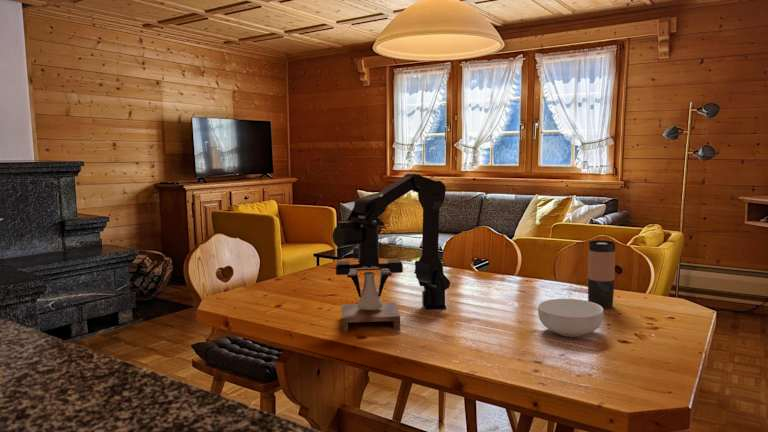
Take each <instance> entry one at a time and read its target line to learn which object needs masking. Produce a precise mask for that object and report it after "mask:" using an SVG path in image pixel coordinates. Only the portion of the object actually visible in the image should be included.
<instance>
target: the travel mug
mask: <svg viewBox="0 0 768 432" xmlns="http://www.w3.org/2000/svg"><path fill="white" fill-rule="evenodd" d="M587 263H588V264H587V265H588V268H587V270H588V271H587V291H588V292H587V301H589V302H593V303H596V304H598V305H600V306H601V307H602V308H603V310H608V309H609V310H610V309H612V308H613V306H614V293H615V292H614V291H615V273H616V272H615V269H616V265H615V263H616V242H614V241H611V240H599V239H598V240H597V239H595V240H590V241H589V242H588V261H587Z"/></svg>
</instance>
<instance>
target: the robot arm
mask: <svg viewBox="0 0 768 432" xmlns="http://www.w3.org/2000/svg"><path fill="white" fill-rule="evenodd" d="M446 190H447V189H446V185H445V184H444V183H443V181H441V180H435V179H431V178H428V177H425V176H423V175H421V174H419V173H409V172H408V173H406V174H404V175H403V176H402V177H401V178H399V179H398V180H396V181H395V182H393V183H391V184H389V185H388V186H387V187H385V188H383V189H382V190H380V191H378V192H376V193H373V194H372V193H371V194H367V195H364V196H361V197H359V198H357V199H356V200H355V201H354V205H353V208H352V210H351V211H350V213H349V215H348V217H347V219H346V221H337V222H336V226H335V227H334V229H333V231H332V240H333V244H334V245H335V246H336V247H337V248H344V247H349V246H355V245H358V246H357V247H353V248H352V252H353V253H352V255H353V260H358V261H357V262H358V263H353V264H352V263H350V260H345V261H344V260H342V261H340V260H339V261H336V263H335V275H336V276H343V275H344V276H347V278H351V281H352V282H353V284H354V286H355V289H356V292H357V294H358V297H359V298H360V297H361V294H362V290H361V286H360V280H359V274H358V273H359V271H379V281H378V282H379V284H378V294H379V297H380V298H381V295H382V293H383V290H384V287H385V284H386V282H387V280H388V278H389V277H391V276H392V275H393V274H398V273H400V274H402V273H403V272H404V265H403V262H402V261H401V259H398V258H397V259H387V262H380V253H379V252H380V251H379V250H380V246H379V245H380V244H379V227H380V226H381V227H382V226H383V227H384V226H385V222H384V221H382V220H381V218H380V217H381V216H382V215H383V214H384V213H386V211H387V207H388V206H389V205H391V204H392V203H394V202H396V201H397V200H398V199H400V198H402V197H403V196H405V195H406V194H408V193H409V192H411V191H412V192H413V191H414V193H417V199H418V202H419V204H420V205H421V208H422V244H421V245H422V246H421V251H422V252H421V256H420V257H419V259H418V260H415V261H414V262H415V263H414V274H415V277H416V279H417V280H418V284H419V286H420V287H423V290H422V291H421V300H422V301H421V303H422V306H423V307H424V308H425V309H426V310H441V309H447V305H446V290H447V289H448V290H449V289H450V286H451V281H450V280H449V279H448V277H447V276H446V275H445V273H444V266H443V263H442V261H441V259H440V257H439V235H440V234H439V230H440V229H439V227H440V225H439V224H440V210H441V207H442V206H443V204H444V202H445V197H446V192H447V191H446Z"/></svg>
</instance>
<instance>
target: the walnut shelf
mask: <svg viewBox="0 0 768 432" xmlns="http://www.w3.org/2000/svg"><path fill="white" fill-rule="evenodd" d="M382 304H383V306H382V307H381V308H379V309H376V310H363V309H359V308H357V306H358V303H351V304H350V303H347V304H346V303H345V304H341V333H345V334H346V333H347V334H348V333H349V323H372V322H373V323H374V322H391V323H392V325H393V326H392V327H393V330H394V331H395V332H396V331H397V332H398V331H401V315H400V312H399V309H398V306H397V302H382Z"/></svg>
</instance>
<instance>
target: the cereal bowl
mask: <svg viewBox="0 0 768 432" xmlns="http://www.w3.org/2000/svg"><path fill="white" fill-rule="evenodd" d="M537 306H538V307H537V313H538V318H539V321H540V322H541V324H542V325H543V326H544V327H546V329H548V330H549V331H550V330H551V332H552V331H553V332H555V333H556V334H557V333H558V335H559V334H560V336H562V337H563V336H564V337H568V336H569V337H571V338H572V337H573V338H574V337H575V338H576V337H577V338H578V337H583V336H585V335H587V334H589V333H593V332H594V331H597V330H598V328H600V327H601V325H602V324H603V320H604V311H605V309H603V308H602V307H601V306H600V305H598V304H596V303H593V302H589V301H588V300H584V299H583V300H582V299H576V298H555V299H553V298H552V299H548V300H544V301H540V303H539V304H538V305H537Z"/></svg>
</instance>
